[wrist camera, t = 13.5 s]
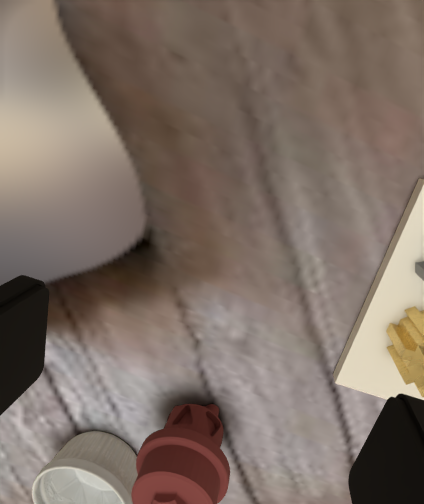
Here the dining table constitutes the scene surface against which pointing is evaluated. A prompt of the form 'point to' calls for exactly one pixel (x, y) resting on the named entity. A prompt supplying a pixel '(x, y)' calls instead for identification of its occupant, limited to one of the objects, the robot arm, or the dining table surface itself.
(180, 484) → the mechanical component
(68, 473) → the ramekin
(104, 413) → the dining table surface
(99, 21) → the dining table surface
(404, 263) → the gear board
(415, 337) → the brass gear
